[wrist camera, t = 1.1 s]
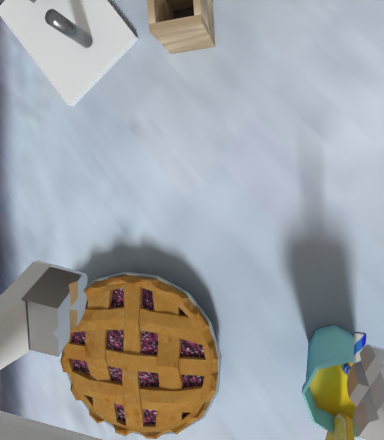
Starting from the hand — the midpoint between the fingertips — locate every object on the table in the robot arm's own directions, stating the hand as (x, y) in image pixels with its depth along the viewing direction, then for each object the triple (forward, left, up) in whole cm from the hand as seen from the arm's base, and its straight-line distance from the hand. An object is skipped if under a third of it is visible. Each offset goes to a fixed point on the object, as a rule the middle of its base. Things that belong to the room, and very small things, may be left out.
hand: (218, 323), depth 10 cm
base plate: (-11, -33, -33) cm, 48 cm away
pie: (+23, -7, -34) cm, 42 cm away
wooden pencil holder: (-18, -19, -33) cm, 42 cm away
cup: (+10, +13, -33) cm, 37 cm away
